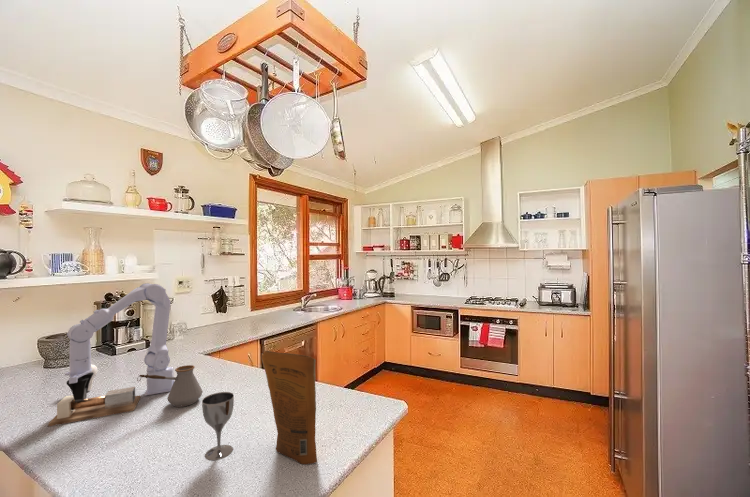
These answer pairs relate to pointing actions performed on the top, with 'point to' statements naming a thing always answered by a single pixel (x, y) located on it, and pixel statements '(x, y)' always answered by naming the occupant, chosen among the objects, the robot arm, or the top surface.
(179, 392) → the coffee pot
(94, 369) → the lightbulb
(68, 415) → the cream rectangular block
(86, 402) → the brown piece
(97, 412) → the walnut board
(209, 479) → the top surface
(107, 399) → the sleeve
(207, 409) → the wine glass
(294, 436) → the pancake mix bag
